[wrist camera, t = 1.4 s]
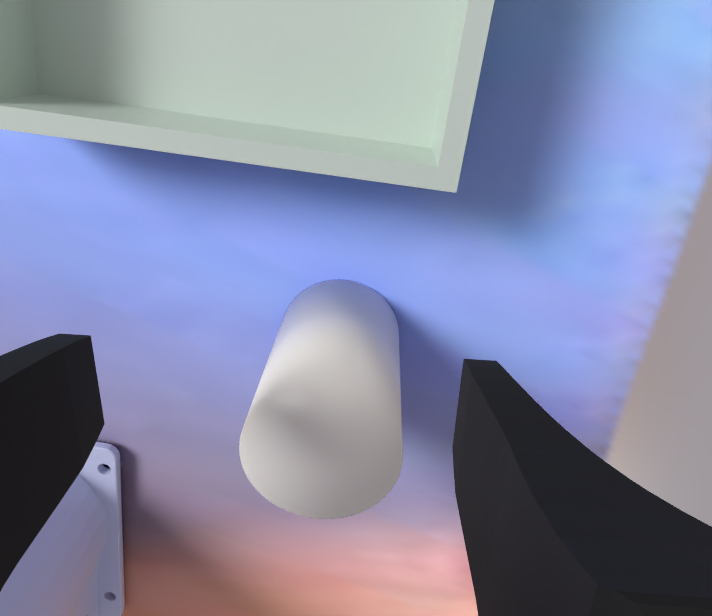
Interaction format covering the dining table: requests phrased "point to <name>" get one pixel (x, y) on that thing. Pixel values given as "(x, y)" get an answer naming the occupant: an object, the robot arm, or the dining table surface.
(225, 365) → the dining table surface
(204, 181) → the dining table surface
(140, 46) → the tote
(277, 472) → the white capsule cylinder
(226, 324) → the dining table surface
